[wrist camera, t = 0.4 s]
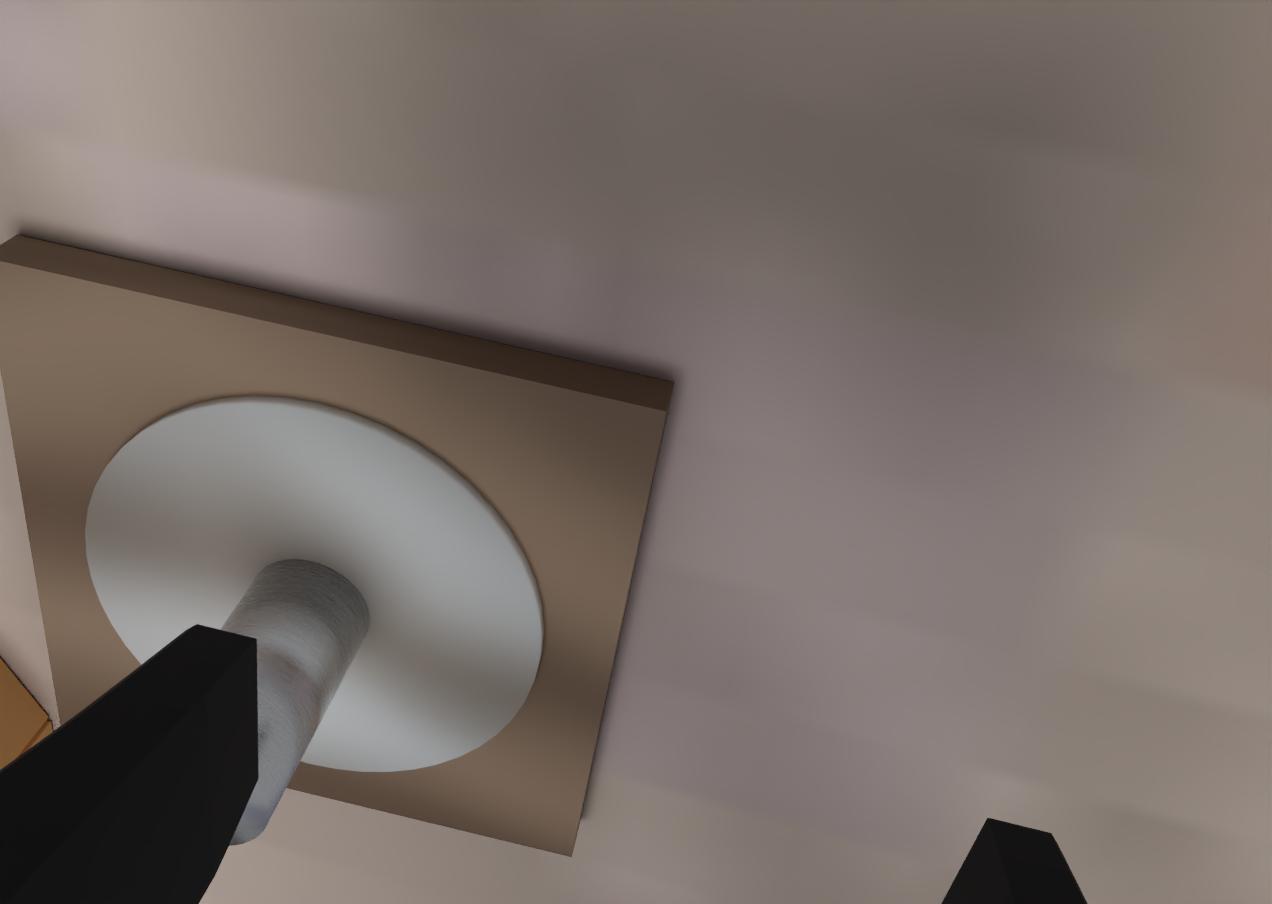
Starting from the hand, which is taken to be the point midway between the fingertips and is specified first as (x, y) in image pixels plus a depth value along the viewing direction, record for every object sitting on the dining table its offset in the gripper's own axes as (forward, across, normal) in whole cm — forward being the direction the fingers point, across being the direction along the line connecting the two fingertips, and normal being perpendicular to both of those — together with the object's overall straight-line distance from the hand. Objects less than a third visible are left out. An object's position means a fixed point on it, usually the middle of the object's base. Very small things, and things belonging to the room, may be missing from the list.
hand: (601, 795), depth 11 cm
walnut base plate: (+10, +6, +7) cm, 14 cm away
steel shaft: (+10, +6, +7) cm, 14 cm away
